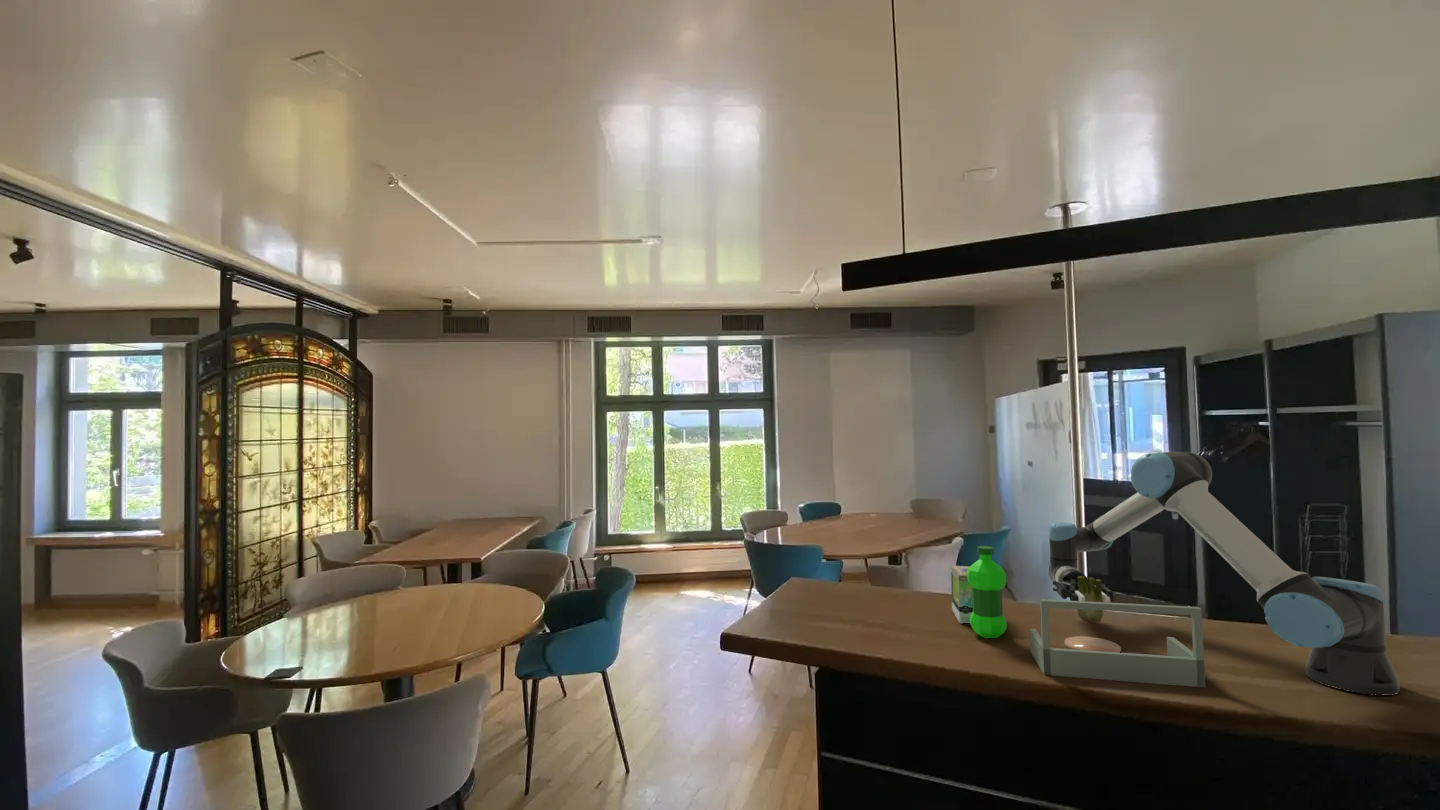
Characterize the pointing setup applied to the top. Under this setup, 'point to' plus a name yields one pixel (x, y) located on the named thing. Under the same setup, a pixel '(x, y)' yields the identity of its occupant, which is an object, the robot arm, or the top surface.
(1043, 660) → the frame
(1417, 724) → the top surface
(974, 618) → the plastic bottle
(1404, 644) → the top surface
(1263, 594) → the robot arm
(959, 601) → the tea box
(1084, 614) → the fennel bulb
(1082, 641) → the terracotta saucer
